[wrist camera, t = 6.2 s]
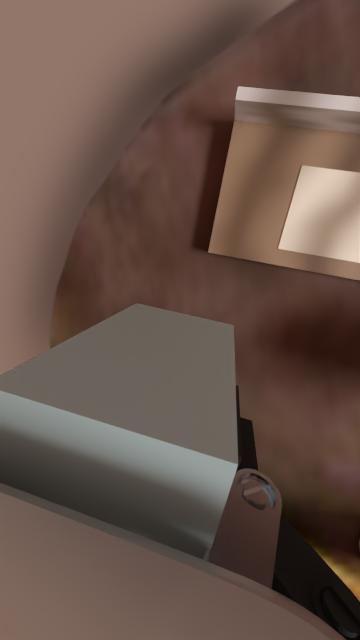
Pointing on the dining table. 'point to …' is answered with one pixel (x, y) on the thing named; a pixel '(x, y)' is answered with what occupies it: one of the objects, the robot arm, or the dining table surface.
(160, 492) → the carton
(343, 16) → the dining table surface
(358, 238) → the beige piece
